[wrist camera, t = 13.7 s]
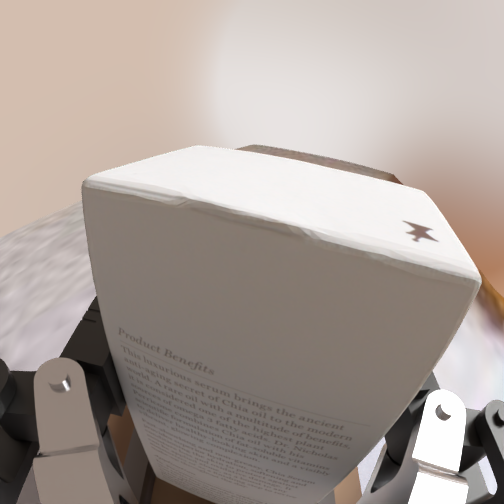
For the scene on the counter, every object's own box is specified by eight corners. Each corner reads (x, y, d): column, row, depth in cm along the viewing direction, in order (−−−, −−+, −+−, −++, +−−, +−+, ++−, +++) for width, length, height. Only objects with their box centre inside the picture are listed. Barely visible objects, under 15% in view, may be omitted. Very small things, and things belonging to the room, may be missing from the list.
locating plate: (76, 539, 8) (42, 524, 6) (123, 386, 17) (112, 344, 15) (362, 563, 8) (402, 553, 6) (339, 409, 18) (361, 371, 16)
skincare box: (315, 449, 12) (433, 191, 6) (289, 528, 8) (499, 283, 3) (193, 408, 13) (196, 139, 8) (150, 476, 10) (68, 177, 4)
